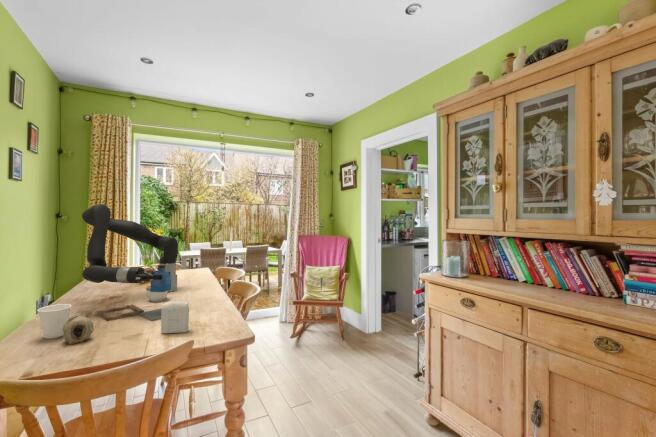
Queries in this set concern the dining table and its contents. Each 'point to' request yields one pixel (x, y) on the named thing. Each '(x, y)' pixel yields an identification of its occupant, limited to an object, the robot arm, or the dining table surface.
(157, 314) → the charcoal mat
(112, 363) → the dining table surface
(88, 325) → the hollow beige lump
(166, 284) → the perfume bottle
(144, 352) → the dining table surface
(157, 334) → the dining table surface
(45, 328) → the cup
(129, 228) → the robot arm
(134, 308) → the walnut collar
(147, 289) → the lidded jar
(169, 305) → the photo printer
